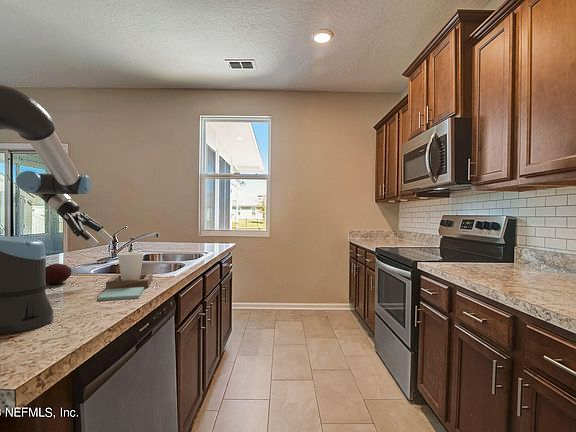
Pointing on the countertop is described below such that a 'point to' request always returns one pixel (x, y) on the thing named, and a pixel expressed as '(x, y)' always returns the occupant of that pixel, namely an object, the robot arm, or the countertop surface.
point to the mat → (121, 293)
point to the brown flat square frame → (129, 282)
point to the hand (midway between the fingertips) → (103, 243)
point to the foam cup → (130, 265)
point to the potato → (57, 273)
